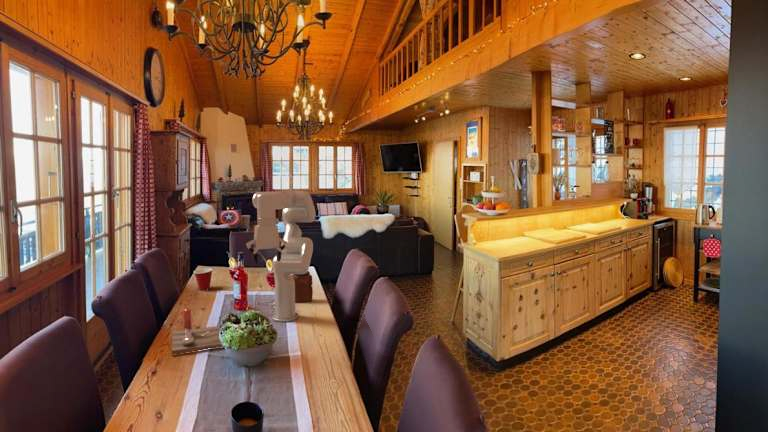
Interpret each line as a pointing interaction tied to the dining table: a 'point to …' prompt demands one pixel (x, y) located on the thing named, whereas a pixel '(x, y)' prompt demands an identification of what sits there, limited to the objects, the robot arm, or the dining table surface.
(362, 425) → the dining table surface
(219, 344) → the lever board
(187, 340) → the lever
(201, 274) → the plastic cup
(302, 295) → the wooden figurine
